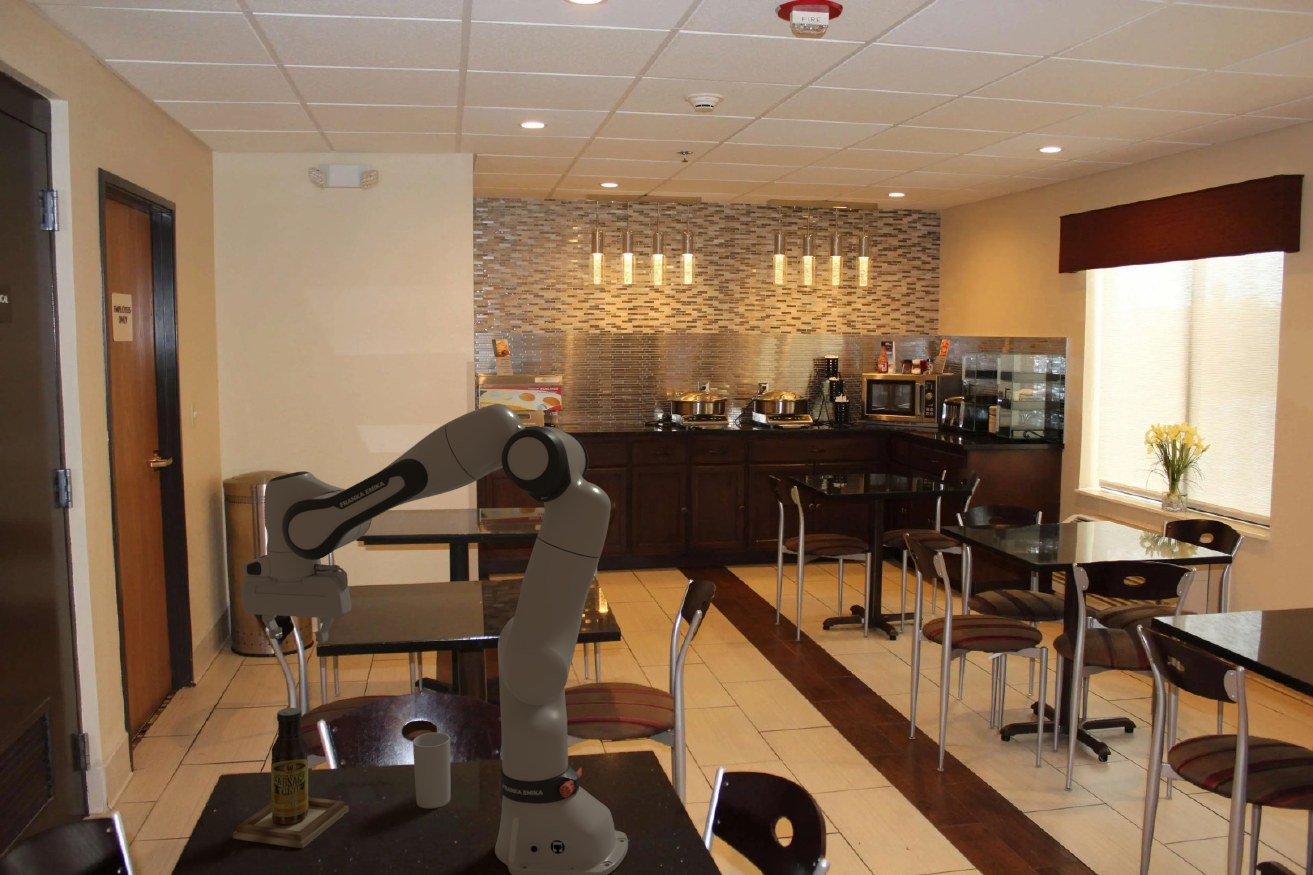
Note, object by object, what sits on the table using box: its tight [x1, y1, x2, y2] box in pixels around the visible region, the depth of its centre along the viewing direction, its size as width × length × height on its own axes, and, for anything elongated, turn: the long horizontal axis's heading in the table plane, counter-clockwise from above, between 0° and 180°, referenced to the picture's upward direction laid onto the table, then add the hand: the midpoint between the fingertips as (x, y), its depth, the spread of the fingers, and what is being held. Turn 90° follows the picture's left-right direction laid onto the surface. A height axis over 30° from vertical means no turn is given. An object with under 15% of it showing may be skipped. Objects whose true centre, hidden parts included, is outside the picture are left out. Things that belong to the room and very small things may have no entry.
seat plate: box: [232, 796, 350, 849], centre depth 178 cm, size 14×14×2 cm
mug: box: [412, 732, 452, 810], centre depth 188 cm, size 10×7×12 cm, turn 178°
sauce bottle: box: [270, 707, 309, 825], centre depth 177 cm, size 6×6×20 cm
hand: (299, 639), depth 177 cm, fingers open, 8 cm apart
